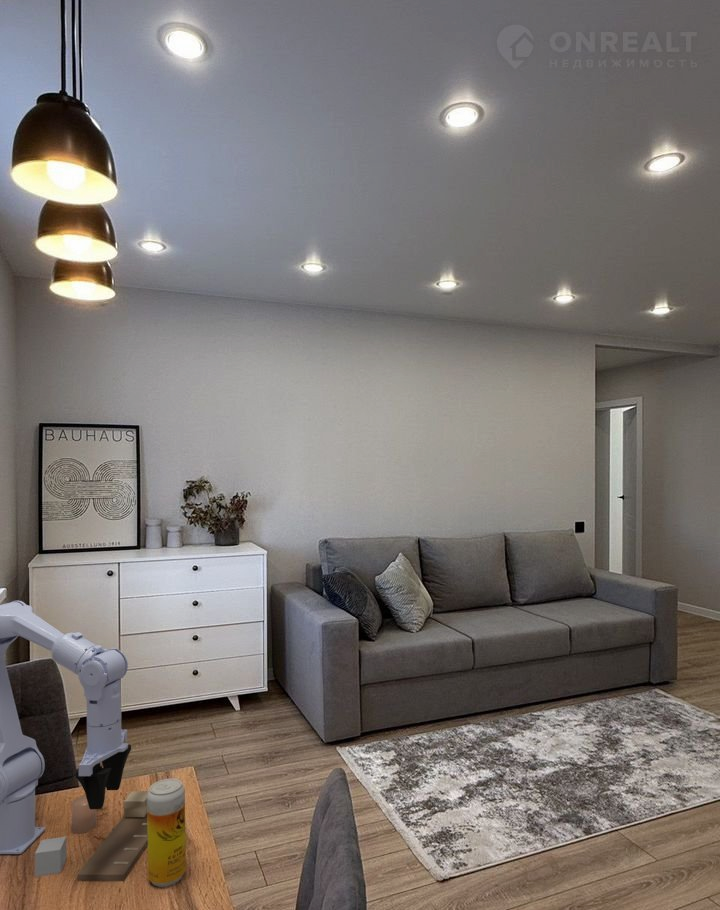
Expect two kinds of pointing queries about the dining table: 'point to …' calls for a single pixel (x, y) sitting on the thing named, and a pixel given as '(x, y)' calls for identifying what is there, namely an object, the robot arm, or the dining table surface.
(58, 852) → the grey cube
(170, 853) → the beer can
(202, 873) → the dining table surface
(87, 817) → the terracotta cylinder
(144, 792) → the birch slider
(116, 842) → the board
